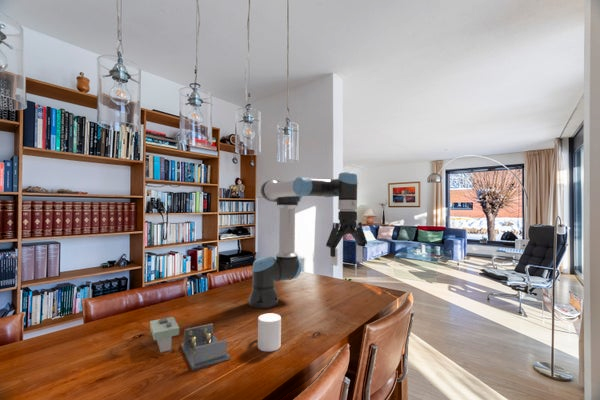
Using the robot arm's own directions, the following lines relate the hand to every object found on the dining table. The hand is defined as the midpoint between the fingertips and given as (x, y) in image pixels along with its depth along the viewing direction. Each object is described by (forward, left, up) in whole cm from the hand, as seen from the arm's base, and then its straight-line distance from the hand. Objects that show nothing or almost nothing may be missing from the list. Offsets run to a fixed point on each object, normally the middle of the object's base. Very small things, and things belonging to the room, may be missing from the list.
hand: (347, 263), depth 114 cm
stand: (-28, -63, -28) cm, 74 cm away
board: (-28, -63, -23) cm, 73 cm away
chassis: (-15, -52, -28) cm, 61 cm away
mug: (-9, -31, -28) cm, 43 cm away
